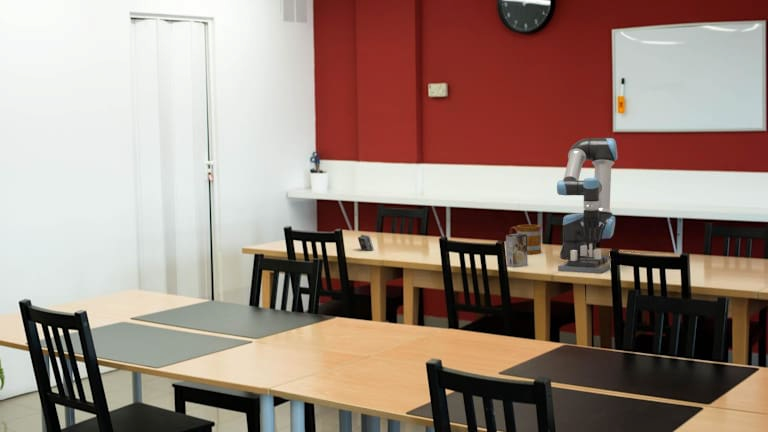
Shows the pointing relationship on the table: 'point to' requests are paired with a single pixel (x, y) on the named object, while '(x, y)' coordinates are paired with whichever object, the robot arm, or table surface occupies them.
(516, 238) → the coffee box
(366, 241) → the electrical switch
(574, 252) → the breaker near
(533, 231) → the mug
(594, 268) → the panel
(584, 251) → the block
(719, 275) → the table surface
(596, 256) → the block
